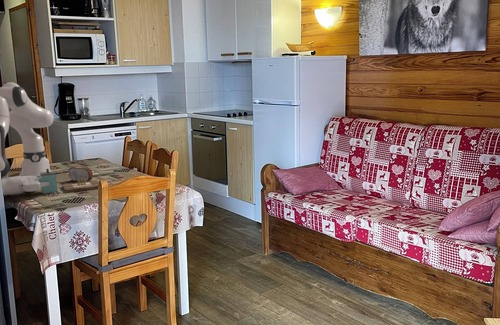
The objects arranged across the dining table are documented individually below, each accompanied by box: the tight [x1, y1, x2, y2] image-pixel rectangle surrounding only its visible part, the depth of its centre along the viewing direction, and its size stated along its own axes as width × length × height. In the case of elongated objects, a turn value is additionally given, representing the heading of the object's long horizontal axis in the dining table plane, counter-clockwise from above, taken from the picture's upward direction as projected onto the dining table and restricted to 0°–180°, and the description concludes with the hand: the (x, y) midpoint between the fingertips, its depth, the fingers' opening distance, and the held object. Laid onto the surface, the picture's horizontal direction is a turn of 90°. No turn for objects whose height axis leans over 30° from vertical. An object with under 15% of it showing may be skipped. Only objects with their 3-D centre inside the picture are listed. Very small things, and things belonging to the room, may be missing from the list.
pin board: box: [61, 178, 99, 194], centre depth 265 cm, size 14×18×5 cm
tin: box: [67, 165, 94, 182], centre depth 279 cm, size 15×3×8 cm, turn 68°
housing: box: [39, 169, 58, 195], centre depth 257 cm, size 5×7×12 cm
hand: (48, 181), depth 257 cm, fingers open, 8 cm apart
